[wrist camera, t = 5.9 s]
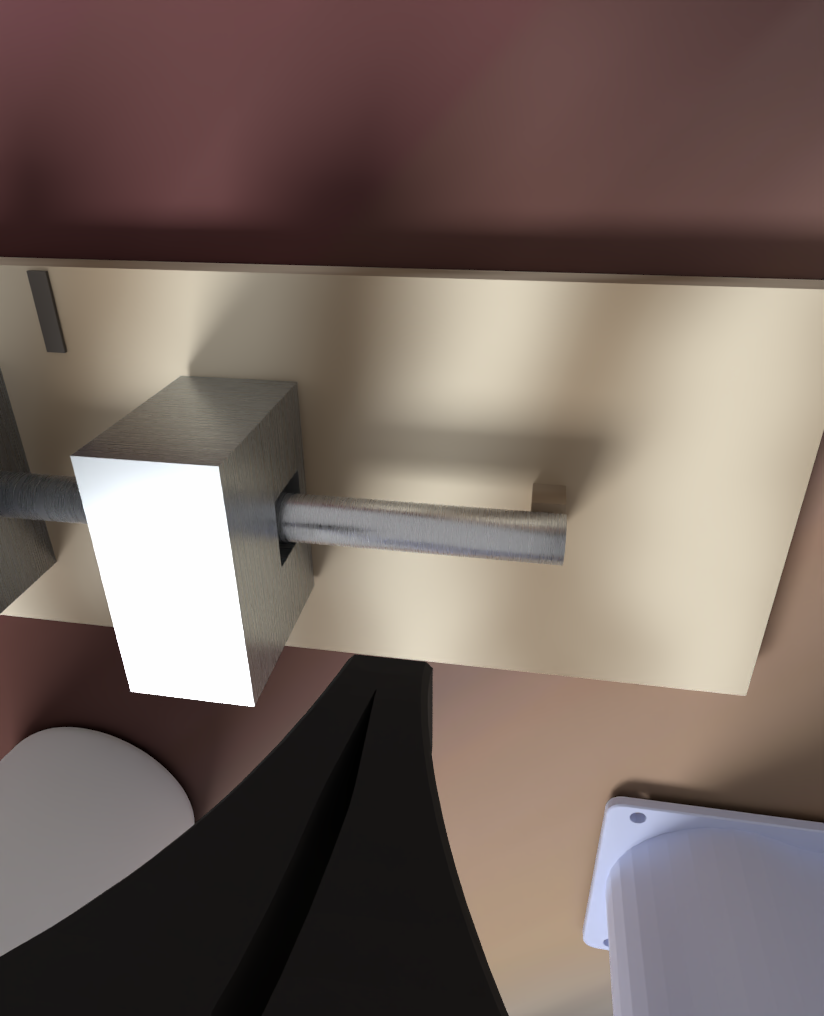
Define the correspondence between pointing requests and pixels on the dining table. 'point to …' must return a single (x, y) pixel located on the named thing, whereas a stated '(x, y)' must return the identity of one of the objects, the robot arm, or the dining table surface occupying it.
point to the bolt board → (451, 449)
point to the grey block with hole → (199, 534)
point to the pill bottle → (77, 824)
